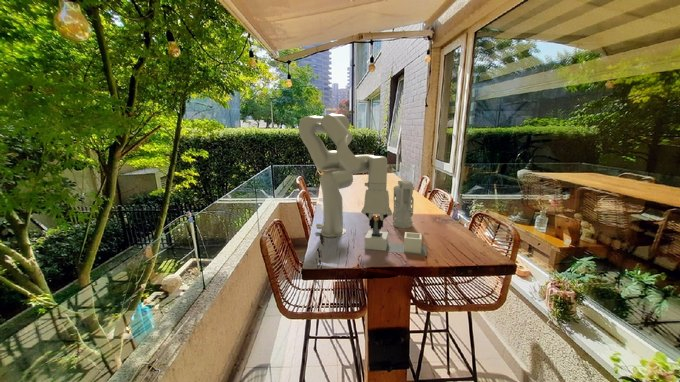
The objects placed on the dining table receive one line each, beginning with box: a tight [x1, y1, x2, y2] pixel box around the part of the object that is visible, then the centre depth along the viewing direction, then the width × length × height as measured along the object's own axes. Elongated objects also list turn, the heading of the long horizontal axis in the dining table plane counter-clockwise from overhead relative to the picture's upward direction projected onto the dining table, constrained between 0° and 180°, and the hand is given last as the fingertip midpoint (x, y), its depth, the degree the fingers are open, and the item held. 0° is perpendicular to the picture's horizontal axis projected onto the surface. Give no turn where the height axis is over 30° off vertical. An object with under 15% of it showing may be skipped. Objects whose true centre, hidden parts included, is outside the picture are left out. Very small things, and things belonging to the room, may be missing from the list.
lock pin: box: [372, 214, 380, 237], centre depth 114 cm, size 3×3×11 cm
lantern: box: [392, 180, 415, 229], centre depth 140 cm, size 13×10×25 cm
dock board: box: [361, 229, 427, 259], centre depth 113 cm, size 26×10×7 cm, turn 74°
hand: (376, 227), depth 114 cm, fingers closed on lock pin, 3 cm apart
